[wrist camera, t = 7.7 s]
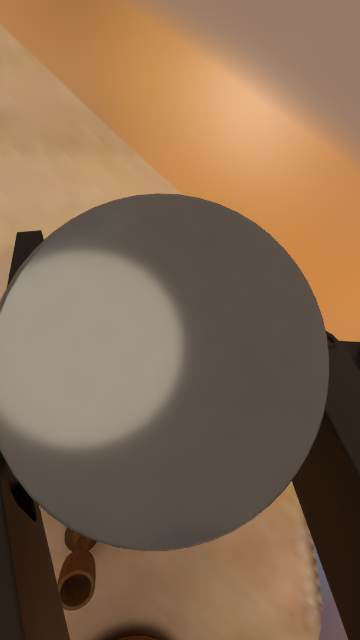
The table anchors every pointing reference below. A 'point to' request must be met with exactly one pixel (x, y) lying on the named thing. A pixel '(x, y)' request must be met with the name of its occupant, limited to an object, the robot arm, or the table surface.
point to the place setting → (80, 575)
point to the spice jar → (159, 372)
